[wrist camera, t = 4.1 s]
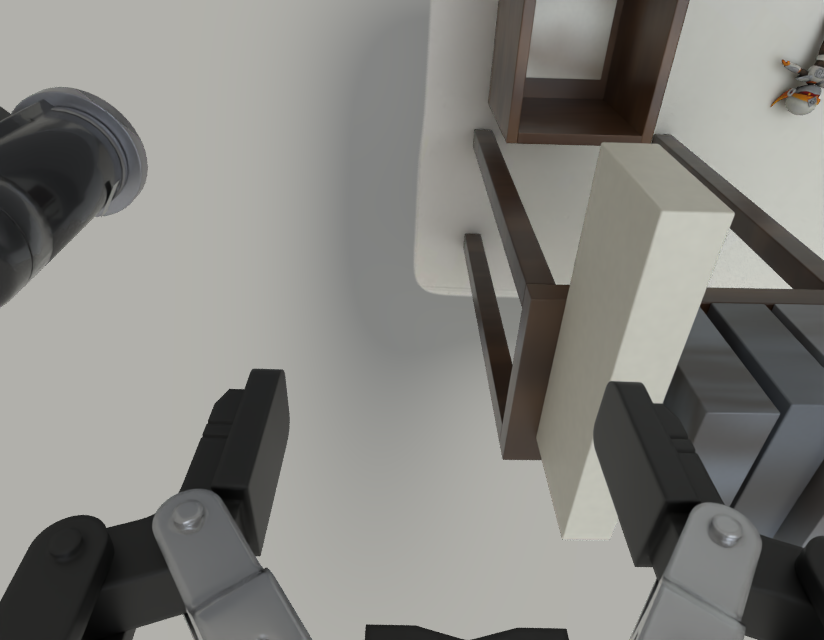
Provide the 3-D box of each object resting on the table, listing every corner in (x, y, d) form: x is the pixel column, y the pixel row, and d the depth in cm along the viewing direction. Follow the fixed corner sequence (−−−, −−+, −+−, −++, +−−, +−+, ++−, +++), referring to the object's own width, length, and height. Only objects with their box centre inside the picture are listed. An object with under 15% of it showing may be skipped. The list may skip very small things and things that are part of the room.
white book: (600, 141, 25) (661, 211, 19) (659, 143, 25) (736, 212, 19) (535, 437, 35) (561, 540, 29) (576, 438, 35) (610, 540, 29)
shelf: (474, 129, 52) (571, 419, 22) (671, 134, 53) (1025, 425, 23) (463, 247, 59) (526, 590, 29) (637, 251, 59) (875, 591, 30)
